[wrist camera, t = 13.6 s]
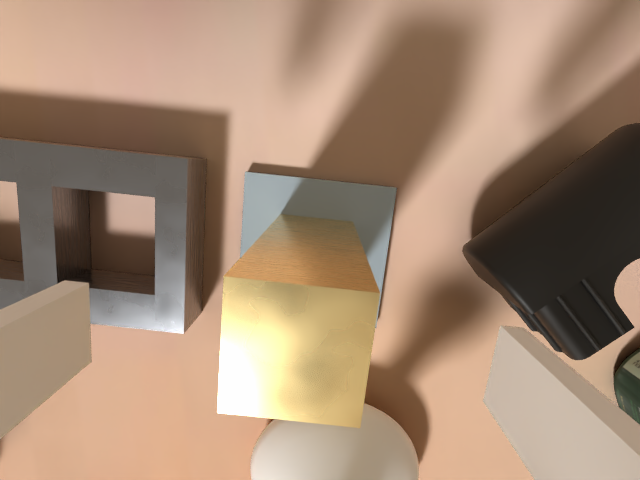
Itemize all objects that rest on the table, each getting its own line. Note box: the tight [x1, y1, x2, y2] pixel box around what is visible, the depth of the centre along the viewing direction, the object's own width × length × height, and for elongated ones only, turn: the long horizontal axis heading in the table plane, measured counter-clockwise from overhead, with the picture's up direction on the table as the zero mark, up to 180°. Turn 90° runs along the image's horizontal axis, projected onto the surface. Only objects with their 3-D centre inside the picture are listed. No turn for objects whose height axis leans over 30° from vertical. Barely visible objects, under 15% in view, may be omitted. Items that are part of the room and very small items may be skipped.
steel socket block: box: [0, 137, 207, 334], centre depth 21 cm, size 18×10×3 cm, turn 84°
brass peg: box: [217, 214, 380, 428], centre depth 16 cm, size 4×4×12 cm
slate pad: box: [240, 172, 397, 328], centre depth 23 cm, size 9×9×1 cm
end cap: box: [462, 123, 640, 360], centre depth 19 cm, size 10×7×7 cm
